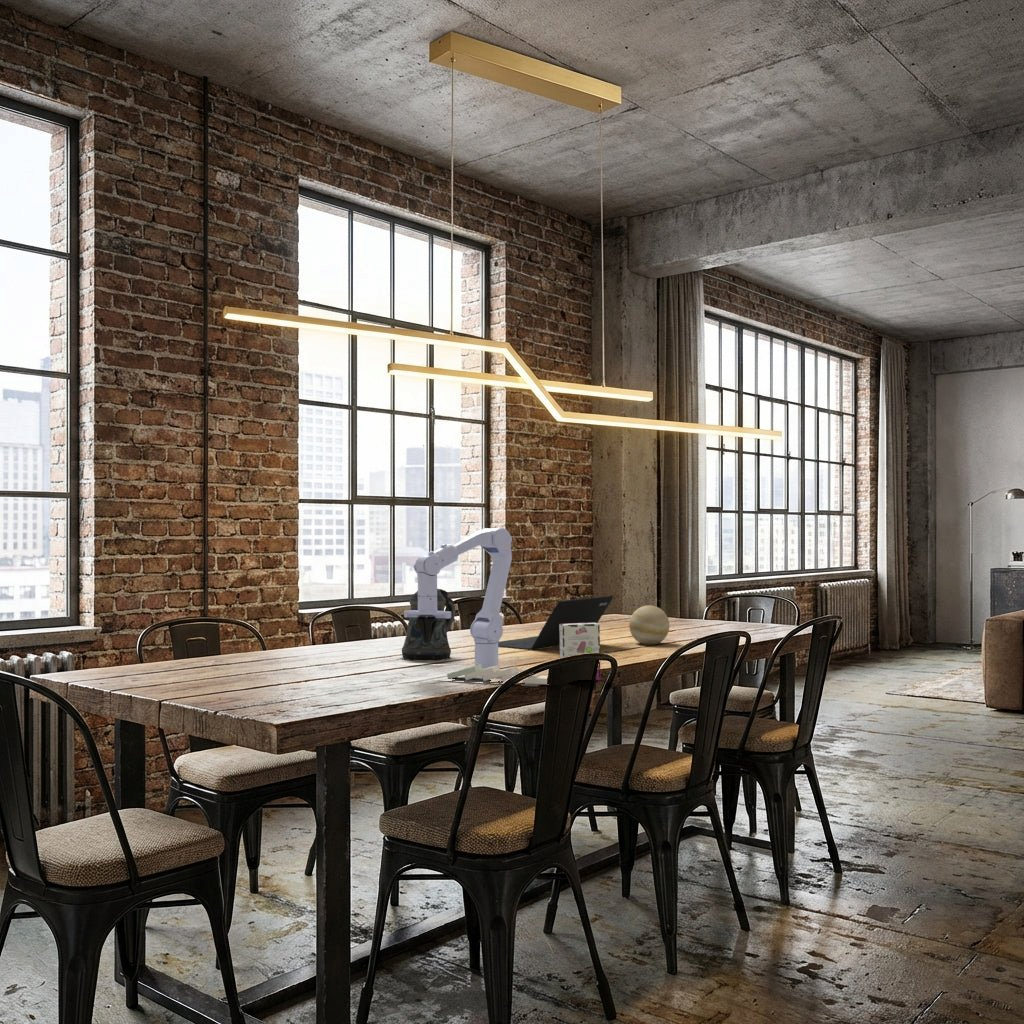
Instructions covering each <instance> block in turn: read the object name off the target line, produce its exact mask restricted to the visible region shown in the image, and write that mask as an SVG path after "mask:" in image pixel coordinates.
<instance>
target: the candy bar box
mask: <svg viewBox="0 0 1024 1024" xmlns="http://www.w3.org/2000/svg"><path fill="white" fill-rule="evenodd" d="M600 627H601V626H600V623H599V622H598V623H571V624H559V630H560V646H559V659H560V658H562V657H568V656H574V655H580V654H589V653H600V654H601V636H600V633H601V632H600ZM595 681H601V661H600V662H599V666H598V673H597V678H596V680H595Z"/></svg>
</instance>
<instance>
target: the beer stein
mask: <svg viewBox="0 0 1024 1024" xmlns="http://www.w3.org/2000/svg"><path fill="white" fill-rule="evenodd" d="M448 596H449V594H448V591H446V590H444V589H443V588H442V589H441V588H437V611H449V612H451V618H449V619H446V618H437V619H439V620H438V622H437V624H436V626H435V629H434V632H433V635H432V639H431V642H429V643H424V639H423V635H422V632H421V629H420V627H419V625H418V623H417V621H416V620H417V619H418V617H408V624H407V630H406V635H405V639H404V643H403V645H402V648H401V656H402V659H403V658H404V659H403V660H406V659H409V660H408V661H414V660H435V661H442V659H445V660H448V659H447V658H449V659H450V658H451V657H450V656H451V653H452V650H451V647H450V645H449V644H450V643H449V638H448V632H449V630H450V628H451V627H452V625H453V622H454V620H455V616H456V606H455V603H454V600H453V599H452V598H451V597H448ZM408 601H409V605H410V610H418V590H417V591H416V592H415V593H413V594H412V595H411V596H410V597H409V599H408ZM444 606H445V609H446V610H444ZM419 616H432V615H419Z"/></svg>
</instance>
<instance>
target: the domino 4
mask: <svg viewBox="0 0 1024 1024" xmlns="http://www.w3.org/2000/svg"><path fill="white" fill-rule="evenodd" d="M547 676H548V675H533V676H530V677H528V678H527V679H525V680H523V681H522V683H523V682H525V683H529V684H542V685H548V684H547Z"/></svg>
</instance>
